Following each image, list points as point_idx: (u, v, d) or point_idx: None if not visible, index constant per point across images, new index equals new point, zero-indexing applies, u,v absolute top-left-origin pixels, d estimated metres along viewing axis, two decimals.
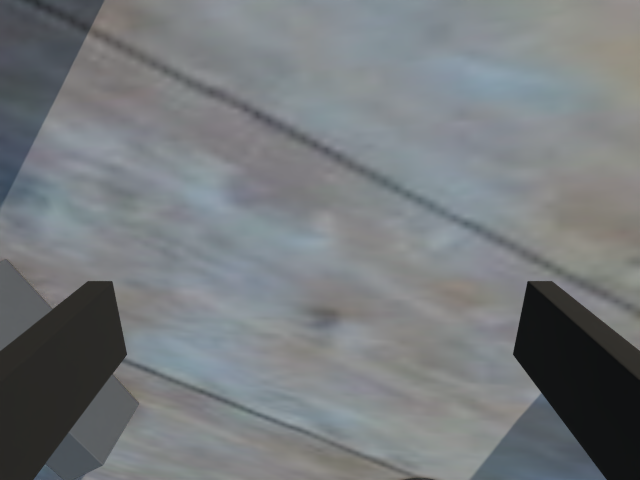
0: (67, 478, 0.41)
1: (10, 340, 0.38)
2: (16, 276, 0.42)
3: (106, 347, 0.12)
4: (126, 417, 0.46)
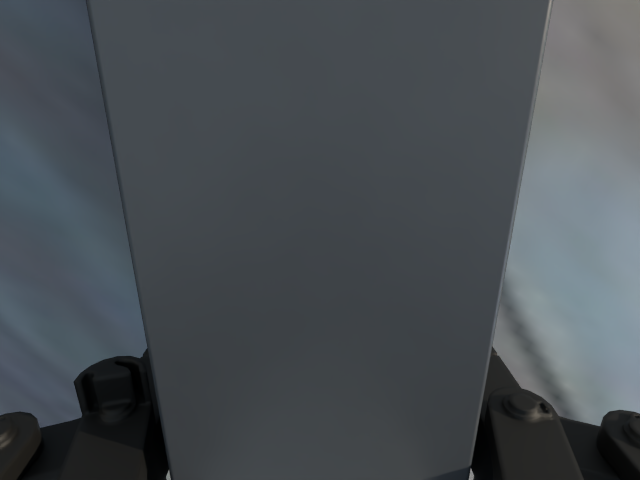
0: None
1: None
2: None
3: None
4: None
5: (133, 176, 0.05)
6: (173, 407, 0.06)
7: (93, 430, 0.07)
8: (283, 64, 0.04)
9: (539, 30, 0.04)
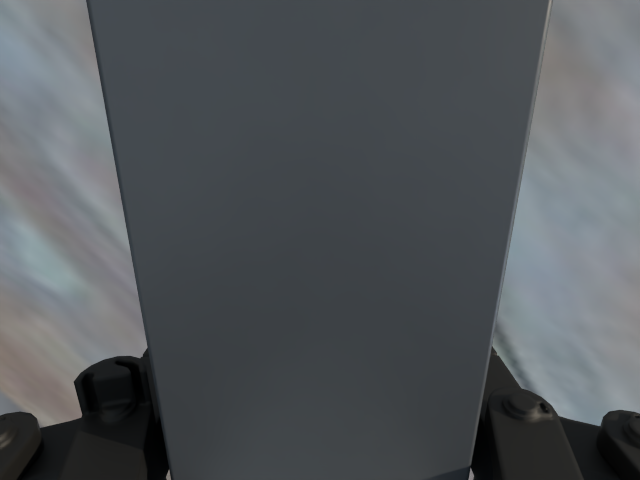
0: None
1: None
2: None
3: None
4: None
5: (133, 175, 0.05)
6: (173, 406, 0.06)
7: (93, 430, 0.07)
8: (282, 62, 0.04)
9: (540, 29, 0.04)
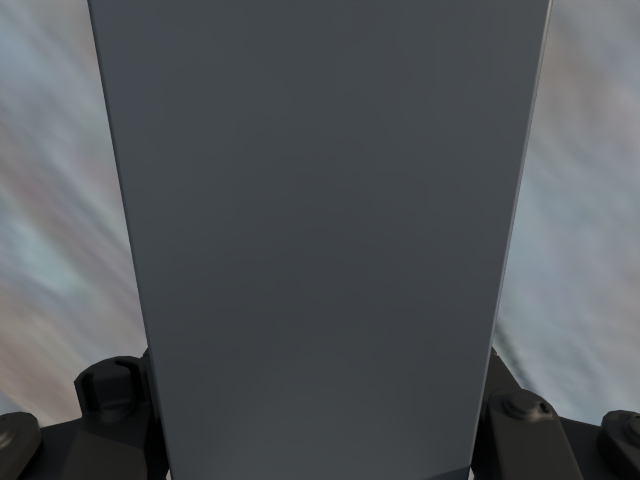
0: None
1: None
2: None
3: None
4: None
5: (133, 174, 0.05)
6: (173, 405, 0.06)
7: (93, 430, 0.07)
8: (283, 62, 0.04)
9: (538, 29, 0.04)
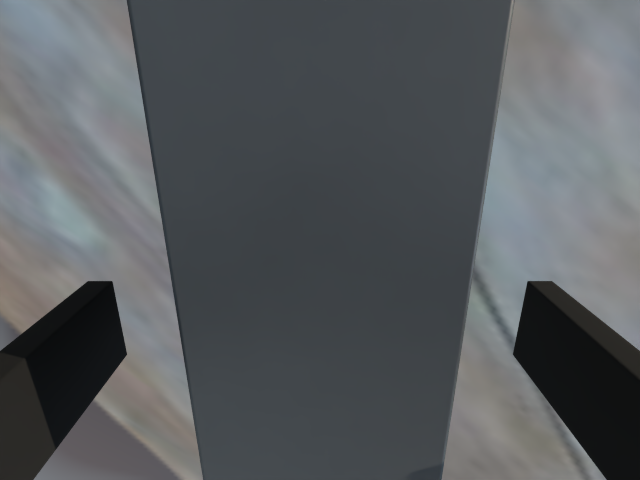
0: None
1: None
2: None
3: (106, 347, 0.12)
4: None
5: (146, 30, 0.05)
6: (184, 274, 0.06)
7: None
8: None
9: None
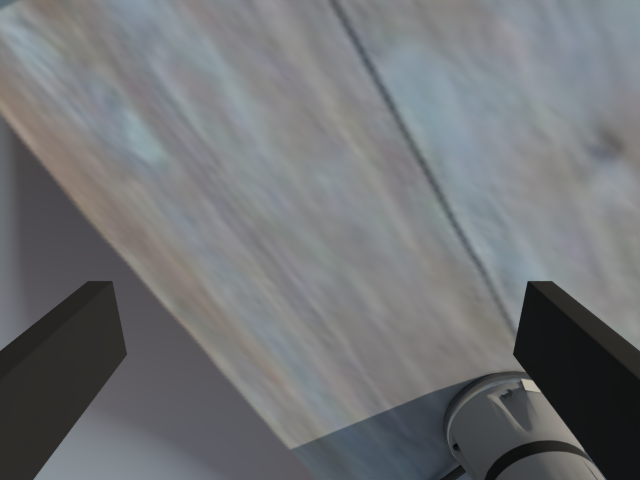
0: None
1: None
2: None
3: (106, 347, 0.12)
4: None
5: None
6: None
7: None
8: None
9: None
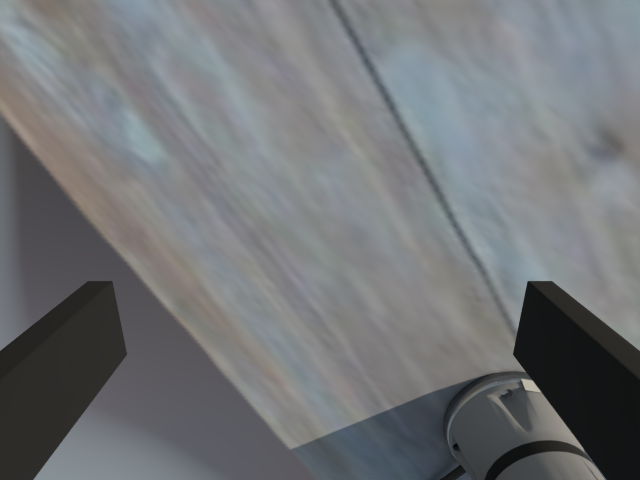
0: None
1: None
2: None
3: (106, 347, 0.12)
4: None
5: None
6: None
7: None
8: None
9: None
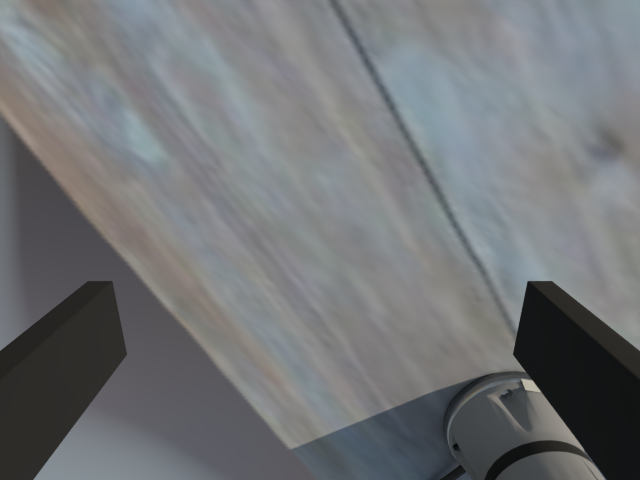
0: None
1: None
2: None
3: (106, 347, 0.12)
4: None
5: None
6: None
7: None
8: None
9: None
